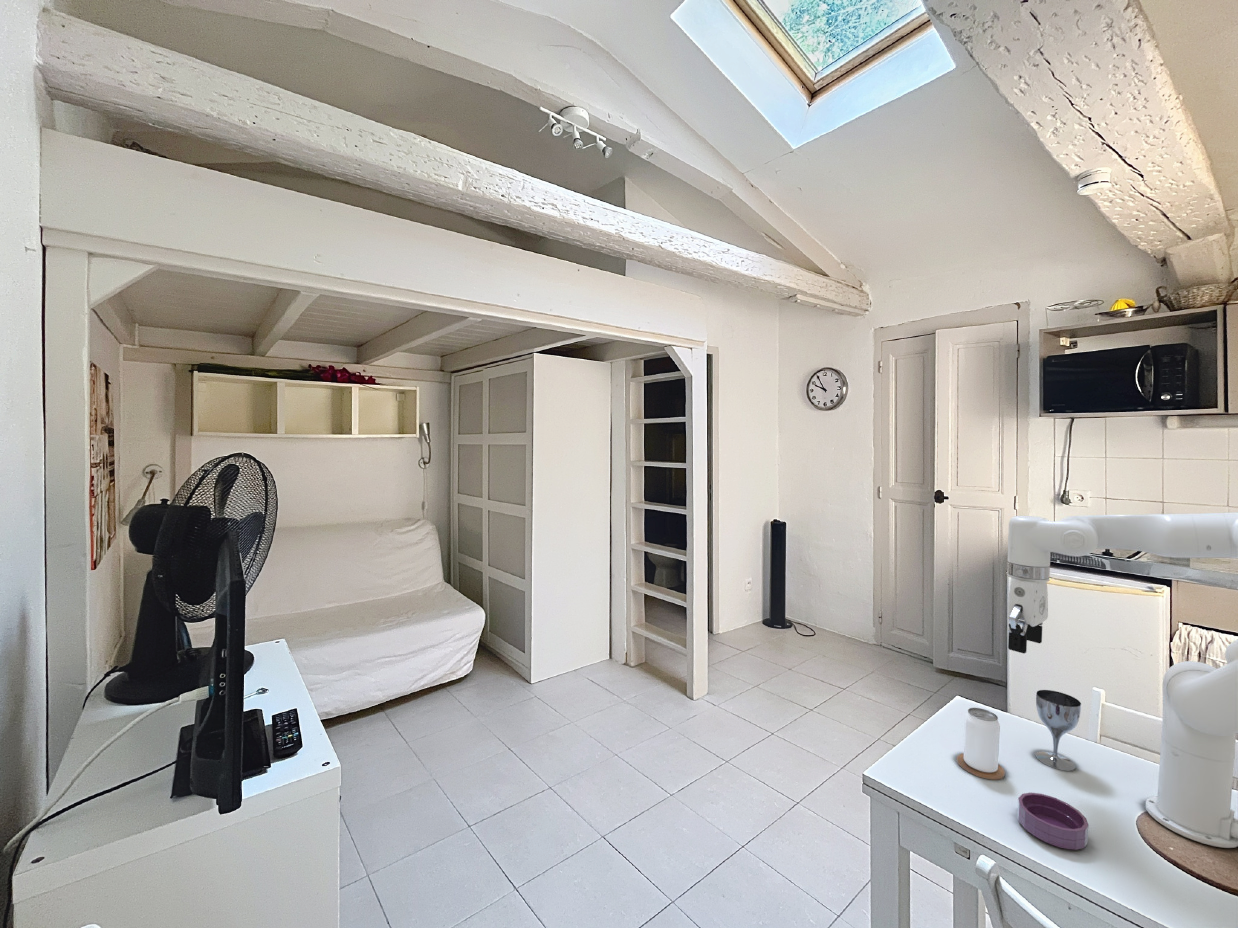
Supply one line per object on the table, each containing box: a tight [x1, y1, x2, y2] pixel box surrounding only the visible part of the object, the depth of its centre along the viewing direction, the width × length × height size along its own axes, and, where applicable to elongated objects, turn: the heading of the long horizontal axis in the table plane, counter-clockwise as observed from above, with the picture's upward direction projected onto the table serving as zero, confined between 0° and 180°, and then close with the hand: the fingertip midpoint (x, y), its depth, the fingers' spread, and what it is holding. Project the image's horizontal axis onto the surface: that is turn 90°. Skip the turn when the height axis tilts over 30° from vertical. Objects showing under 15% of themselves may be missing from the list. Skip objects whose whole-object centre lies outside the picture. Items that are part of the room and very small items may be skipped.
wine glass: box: [1034, 689, 1082, 772], centre depth 121 cm, size 8×8×15 cm
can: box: [963, 707, 1001, 773], centre depth 119 cm, size 6×6×12 cm
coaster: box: [956, 752, 1006, 781], centre depth 119 cm, size 9×9×1 cm
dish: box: [1016, 792, 1090, 851], centre depth 100 cm, size 10×10×4 cm
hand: (1025, 646), depth 118 cm, fingers open, 9 cm apart
